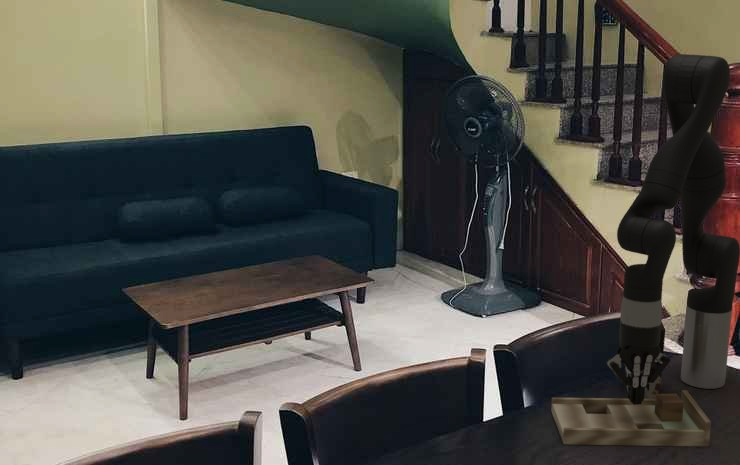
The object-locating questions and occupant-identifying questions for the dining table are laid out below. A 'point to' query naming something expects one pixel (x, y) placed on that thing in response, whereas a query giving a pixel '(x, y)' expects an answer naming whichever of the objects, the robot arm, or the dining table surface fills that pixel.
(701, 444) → the tray
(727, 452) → the dining table surface
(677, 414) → the walnut block
